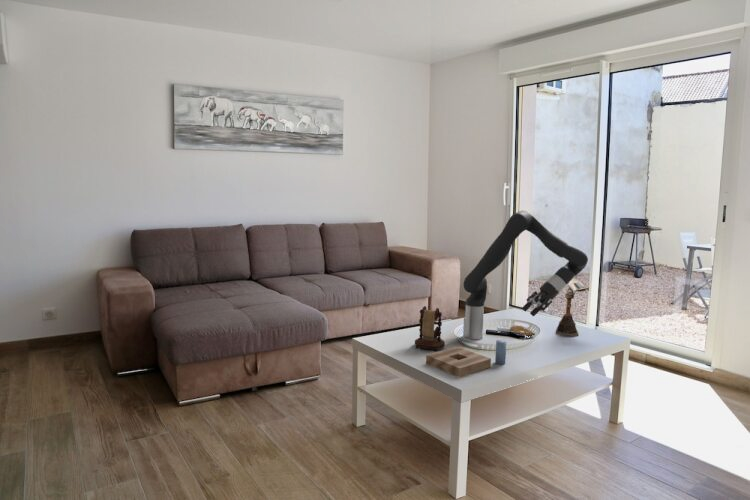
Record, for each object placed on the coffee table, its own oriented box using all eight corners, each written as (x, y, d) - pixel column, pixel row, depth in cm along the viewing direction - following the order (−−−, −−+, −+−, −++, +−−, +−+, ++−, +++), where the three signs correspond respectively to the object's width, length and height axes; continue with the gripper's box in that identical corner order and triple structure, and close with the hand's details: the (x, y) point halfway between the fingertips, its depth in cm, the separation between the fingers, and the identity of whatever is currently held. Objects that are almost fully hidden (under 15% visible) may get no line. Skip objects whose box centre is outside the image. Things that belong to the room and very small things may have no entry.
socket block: (425, 363, 232) (426, 355, 231) (456, 354, 244) (457, 346, 244) (459, 377, 216) (459, 368, 216) (490, 367, 229) (490, 358, 228)
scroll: (409, 348, 252) (410, 308, 249) (421, 340, 265) (422, 302, 262) (438, 353, 245) (439, 312, 243) (449, 345, 258) (450, 305, 256)
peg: (493, 362, 235) (494, 341, 233) (499, 360, 237) (500, 339, 236) (501, 365, 231) (502, 343, 230) (507, 363, 234) (508, 341, 233)
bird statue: (592, 336, 276) (597, 271, 271) (576, 340, 269) (580, 273, 265) (567, 328, 290) (571, 267, 285) (551, 331, 284) (555, 268, 279)
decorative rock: (503, 332, 283) (519, 341, 269) (503, 325, 282) (519, 334, 268) (521, 329, 287) (537, 338, 273) (521, 322, 286) (538, 331, 272)
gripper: (540, 278, 239) (515, 303, 239) (555, 284, 225) (529, 310, 225) (550, 289, 241) (525, 314, 241) (566, 296, 227) (539, 322, 227)
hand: (527, 312), depth 233 cm, fingers open, 8 cm apart
